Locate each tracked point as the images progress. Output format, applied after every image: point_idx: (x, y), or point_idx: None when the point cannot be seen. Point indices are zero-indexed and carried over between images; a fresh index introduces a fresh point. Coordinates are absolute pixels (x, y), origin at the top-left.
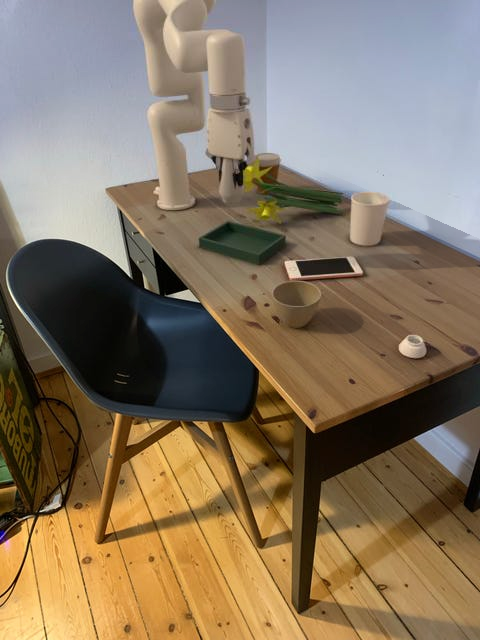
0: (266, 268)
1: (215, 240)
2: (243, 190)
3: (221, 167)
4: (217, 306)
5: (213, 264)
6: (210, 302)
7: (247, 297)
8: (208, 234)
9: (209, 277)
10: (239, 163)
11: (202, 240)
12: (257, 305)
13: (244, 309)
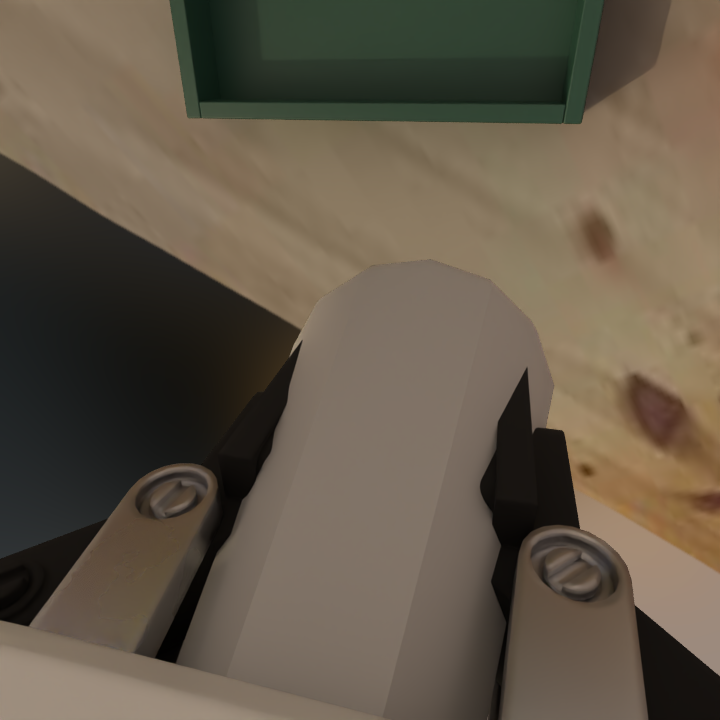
0: (627, 130)
1: (224, 1)
2: (543, 360)
3: None
4: None
5: (370, 223)
6: None
7: (633, 382)
8: (191, 43)
9: None
10: (506, 658)
11: (213, 117)
12: (694, 413)
13: (653, 446)
